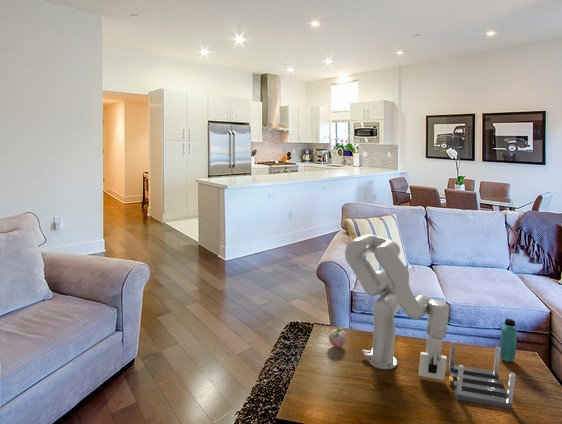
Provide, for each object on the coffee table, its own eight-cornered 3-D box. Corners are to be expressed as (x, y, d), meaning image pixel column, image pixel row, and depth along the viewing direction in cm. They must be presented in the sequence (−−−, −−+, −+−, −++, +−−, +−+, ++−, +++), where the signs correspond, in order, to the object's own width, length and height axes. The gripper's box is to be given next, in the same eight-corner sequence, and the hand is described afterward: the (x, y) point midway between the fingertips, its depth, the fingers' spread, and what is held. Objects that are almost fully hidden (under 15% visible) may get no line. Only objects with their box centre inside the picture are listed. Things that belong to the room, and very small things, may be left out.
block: (418, 375, 158) (421, 354, 156) (418, 372, 159) (420, 351, 158) (444, 380, 155) (446, 358, 153) (443, 377, 157) (446, 356, 155)
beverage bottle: (516, 365, 168) (521, 324, 165) (500, 363, 169) (505, 322, 166) (511, 357, 174) (515, 317, 171) (495, 355, 176) (499, 316, 172)
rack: (453, 398, 145) (456, 366, 143) (445, 369, 165) (448, 339, 163) (515, 409, 139) (519, 375, 137) (499, 377, 159) (503, 347, 157)
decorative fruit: (331, 341, 189) (331, 322, 187) (347, 344, 186) (347, 325, 184) (326, 350, 180) (326, 330, 179) (342, 353, 177) (343, 334, 176)
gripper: (425, 320, 162) (421, 359, 165) (428, 338, 147) (423, 380, 150) (443, 323, 160) (439, 362, 163) (448, 341, 145) (443, 384, 148)
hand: (431, 370), depth 157 cm, fingers closed on block, 2 cm apart
